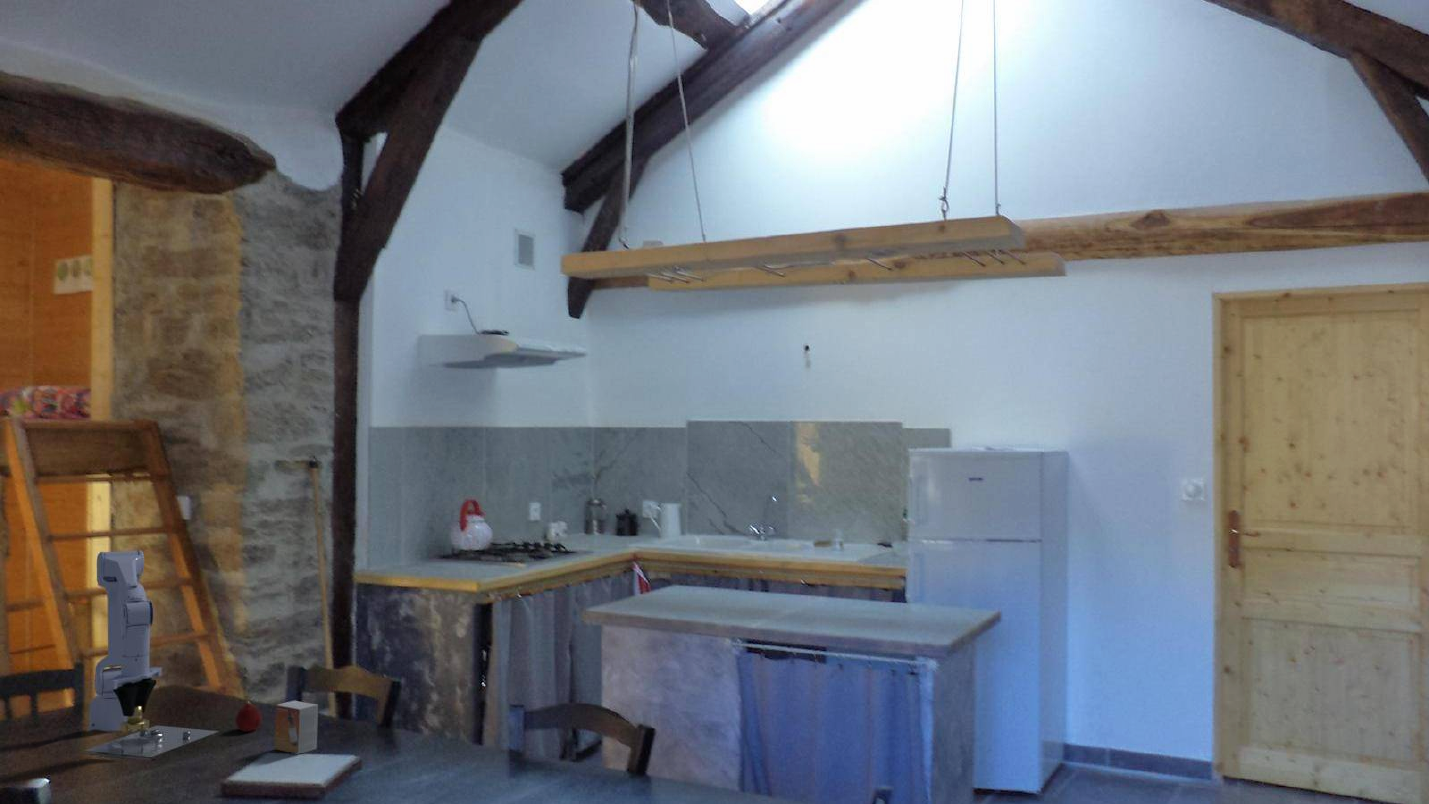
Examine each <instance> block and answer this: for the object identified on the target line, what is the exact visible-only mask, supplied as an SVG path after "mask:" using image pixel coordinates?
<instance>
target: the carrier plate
mask: <svg viewBox="0 0 1429 804" xmlns="http://www.w3.org/2000/svg"><path fill="white" fill-rule="evenodd" d="M216 733H219V730H208V729H198V728H196V729H195V728H187V727H185V728H184V727H175V726H165V725H164V726H163V725H155V726H151V727H148V728H147V729H145V730H139V731H136V732H133V733H130V734H129V735H126V736H123V737H120V738H116V739H114V740H111V741H108V742H105V743H102V744H99V745H97V746H94V747H91V748H87V749H85V750H84V755H85V754H90V755H89V756H92V755H100V756H99V757H102V756H105V758H114V759H123V760H136V761H142V762H143V761H144V762H154V761H156V760H157V758H153V757H156V756H158V755H160V754H163V753H166V752H168V751H171V750H173V749H177V748H179V747H181V746H184V745H187V744H189V743H192V742H195V741H198V740H201V739H202V738H205V737H208V736H211V735H214V734H216ZM97 752H98V753H97ZM106 753H107V754H106ZM136 756H137V757H136Z"/></svg>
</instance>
